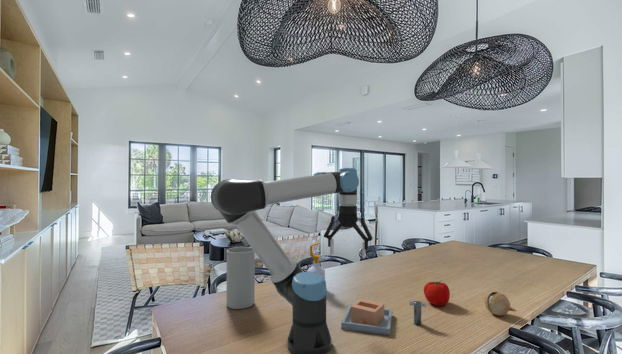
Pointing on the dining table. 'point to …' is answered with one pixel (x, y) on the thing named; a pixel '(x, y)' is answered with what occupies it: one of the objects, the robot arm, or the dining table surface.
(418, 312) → the grey t-shaped piece
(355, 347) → the dining table surface
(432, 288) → the tomato
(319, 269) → the soap bottle
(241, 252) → the cylinder vase
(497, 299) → the onion
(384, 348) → the dining table surface
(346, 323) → the tray
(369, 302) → the ring frame
